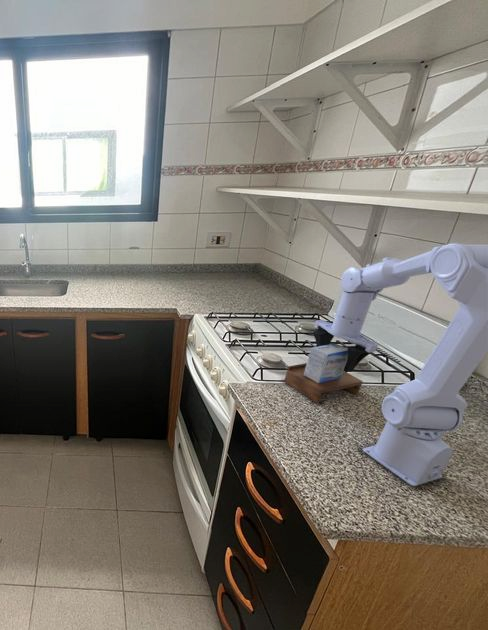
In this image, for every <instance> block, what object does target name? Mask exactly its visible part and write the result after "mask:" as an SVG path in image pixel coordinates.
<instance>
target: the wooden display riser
mask: <svg viewBox="0 0 488 630" xmlns="http://www.w3.org/2000/svg"><path fill="white" fill-rule="evenodd" d="M306 365H307V362H304V363H299V364H294V365H289V366H287V370H286V374H285V377H284V381H283V382H284V383H286V384H287V385H288V386H290V387H291V388H293V389H294V390H296V391H298V392H299V393H301V394H302V395H304V396H305V397H306V398H308V399H309V400H311V401H312V402H313V403H315V404H319V403H320V401H321V398H322V395H323V393H329V392H332V391H338V390H342V389H345V390H346V391H348V392H350V393H352V394H353V395H359V393H360V390H361V388H362V385H363V383H364V381H363V380H361V379H360V378H358V377H356V376H354V375H353V374H351V373H349V372H346V371H344V370H343V373H342V376H341V378H339V379H335V380H331V381H327V382H323V383H320V384H318V383H316V382H315V381H313V380H311V379H309V378H308V377H306V376H304V372H305V368H306Z"/></svg>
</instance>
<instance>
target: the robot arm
mask: <svg viewBox="0 0 488 630" xmlns="http://www.w3.org/2000/svg"><path fill="white" fill-rule="evenodd" d="M426 274H432V276H433V277H434V279H435V280H436V282H437V283H438V284H439V285H440V286H441V287H442V288H443V290H444V291H445V292H446V294H447V295H448V296H449V297H450V298H451V299H453V300H455V301H457V302H458V304H459V308H458V310H457V311H456V313H455V314H454V316H453V318H451V319H452V320H451V321H450V322H449V324H448V326H447V327H446V328H445V330H444V332H443V334H442V336H441V337H440V338H439V340H438V341H437V344H435V347H434V348H433V350H432V352H431V353H430V354H429V357H428V358H427V360H426V361H425V363H424V365H423V366H422V368H421V369H420V371H419V373H418V374H417V375H416V378H415V379H413V380H410V381H407V382H405V383H402V384H400V385H397V386H396V387H395V389H394V390H393V391H392V392H391V393H389V394H388V395H385V397H384V398H383V400H382V403H381V413H382V416H383V417H384V419H385V420H386V422H385V424H384V427H383V429H382V431H381V434H380V436H379V438H378V439H377V441H376V444H374V445H370V446H367V447H364V448H362V452H363V453H364V454H366V455H368V456H369V457H370V458H372V459H374V460H375V461H376V462H378V463H379V464H380V465H382V466H383V467H385V468H386V469H387V470H388V471H390V472H391V473H393V474H394V475H396V476H397V477H398V478H400V479H401V480H402V481H404V482H405V483H406V484H408V485H410V486H411V487H417V486H420V485H423V484H427V483H429V482H432V481H435V480H439V479H442V478H443V472H444V470H445V468H446V467H447V465H448V464H449V462H450V460H451V459H452V457H453V454H454V448H453V447H451V446H450V445H449V444H448V443H446V441H444V440H443V439H442V438H441V437H444V436H445V434H446V432H453V431H456V430H458V429H459V428H460V427H461V425H462V423H463V417H464V412H465V410H466V409H467V407H468V403H467V402H466V400H465V399H464V398H463V396H461V395H460V394H459V392H460V391H461V389H462V388H463V387H464V385H465V384H466V382H467V381H468V380H469V378H470V377H471V376H472V374H473V373H474V371H475V370H476V368H477V367H478V365H479V364H480V363H481V362H482V360H483V358H484V357H485V356H486V354H487V353H488V244H466V243H465V244H464V243H463V244H462V243H458V242H457V243H456V242H455V243H454V242H453V243H447V244H445V245H441V246H434V247H433V248H432V249H431V250H430V251H426V252H423V253H421V254H418V255H415V256H413V257H410V258H408V259H403V260H402V259H400V258H395V257H383V258H382V261H380V262H377V263H368V264H366V265H365V267H362V268H361V267H359V268H357V267H353V266H352V267H349V268H348V269H346V270H344V272H343V273H342V275H341V278H340V286H341V288H342V290H343V291H342V294H341V298H340V299H339V304H338V307H337V309H336V313H335V315H334V319H333V322H329V321H325V320H323V319H319V320H315V323H314V326H313V327H314V328H315V329H316V330H313V331H312V335H313V338H314V340H315V344H316V347H318V346H323V345H328V344H331V343H332V340H333V339H334V338H335V337H336V338H339V339H342V340H344V341H346V342H348V343H350V344H353V346H348V347H347V349H348V358H347V361H346V364H345V367H344V370H343V371H345V372H347V373H350V372H353V371H354V370H355V368H356V367H357V366H358V365H359V364H360V362H361V361H363V360H364V359H365V358H366V357H368V356H369V355H370V354H373V353H375V352H377V349H378V346H379V344H378V343H376V342H374V341H372V340H371V339H369V338H368V337H366V336H364V335H363V334H361V331H362V330H363V325H365V324H364V323H365V322H366V318H367V315H368V312H369V310H370V307H371V304H372V301H373V302H374V301H375V300H376V299H377V297H378V294H380V293H382V291H383V290H384V289H388V288H392V287H398V286H402V285H404V284H406V283H407V282H408V281H409V279H410V278H411V277H415V276H422V275H426Z"/></svg>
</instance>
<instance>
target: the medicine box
mask: <svg viewBox="0 0 488 630" xmlns="http://www.w3.org/2000/svg"><path fill="white" fill-rule="evenodd" d="M347 358H348V347H347V348H346V347H344V346H343V345H340V344H338V343H330V344H328V345H323V346H318V347H317V346H314V347H311V348H310V351H309V355H308V358H307V362H306V363H307V365H306V368H305V372H304V376H306V377H308V378H309V379H311V380H313V381H315V382H316V383H318V384H320V383H323V382H327V381H331V380H335V379H339V378H341V376H342V373H343V371H344V367H345V364H346V362H347Z"/></svg>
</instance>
